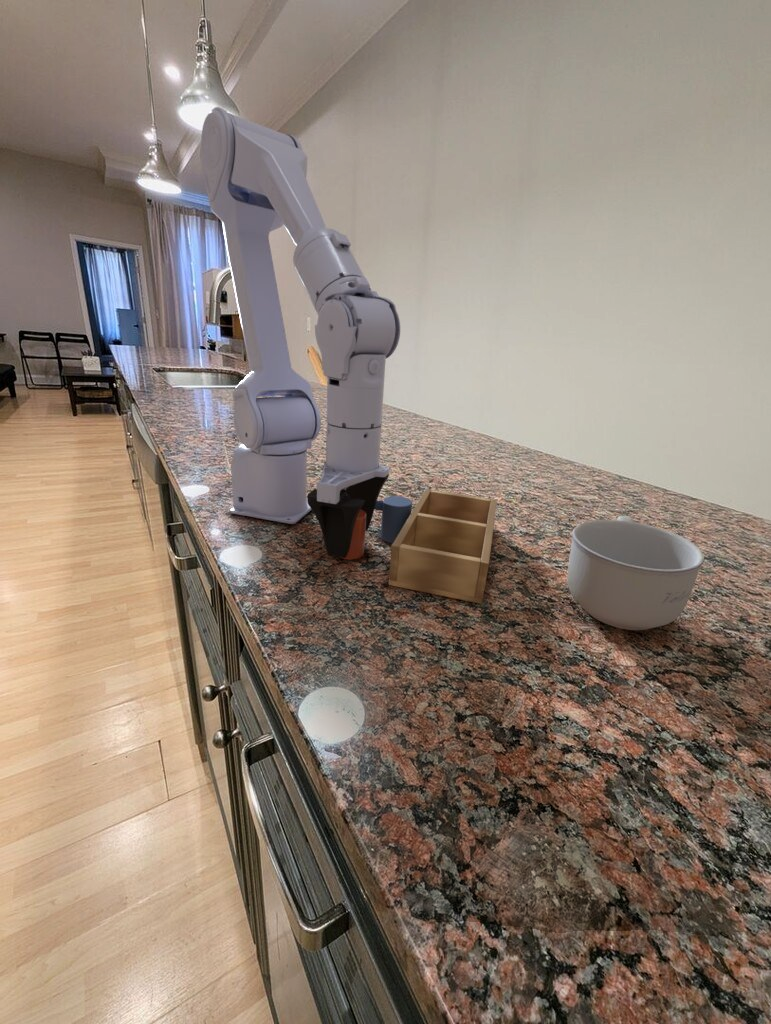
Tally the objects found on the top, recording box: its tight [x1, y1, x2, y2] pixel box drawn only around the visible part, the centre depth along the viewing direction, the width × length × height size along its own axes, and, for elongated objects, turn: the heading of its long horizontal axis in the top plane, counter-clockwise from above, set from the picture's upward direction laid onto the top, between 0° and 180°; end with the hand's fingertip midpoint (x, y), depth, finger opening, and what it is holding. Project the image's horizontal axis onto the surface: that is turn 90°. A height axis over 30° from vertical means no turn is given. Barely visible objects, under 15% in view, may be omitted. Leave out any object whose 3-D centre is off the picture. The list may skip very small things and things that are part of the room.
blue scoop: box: [374, 495, 413, 544], centre depth 56 cm, size 6×4×5 cm, turn 75°
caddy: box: [388, 488, 498, 605], centre depth 52 cm, size 10×18×5 cm, turn 165°
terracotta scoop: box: [314, 509, 367, 560], centre depth 52 cm, size 6×4×5 cm, turn 75°
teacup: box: [566, 515, 705, 631], centre depth 44 cm, size 14×11×8 cm
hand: (349, 540), depth 52 cm, fingers open, 7 cm apart
